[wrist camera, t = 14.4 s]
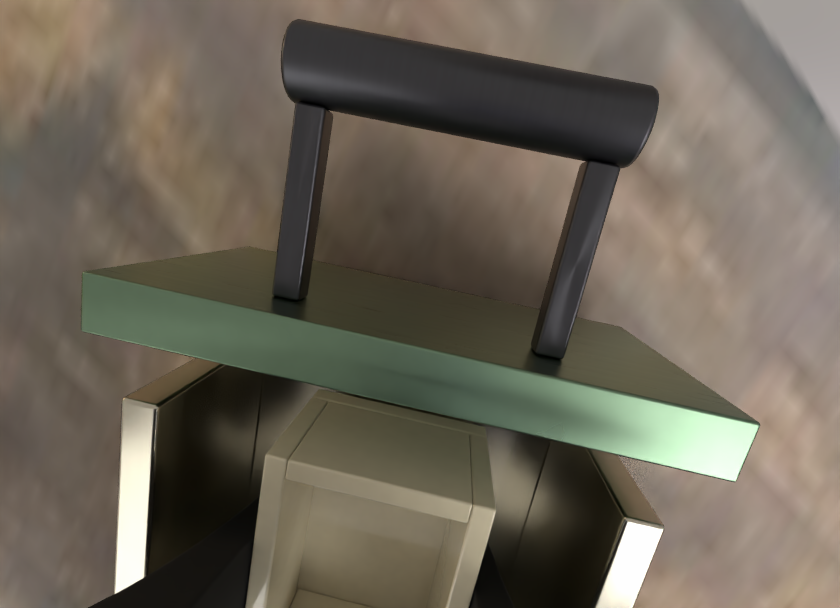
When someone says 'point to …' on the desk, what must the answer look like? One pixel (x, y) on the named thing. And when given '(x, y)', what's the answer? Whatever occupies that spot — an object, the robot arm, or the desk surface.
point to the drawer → (417, 336)
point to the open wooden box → (371, 509)
